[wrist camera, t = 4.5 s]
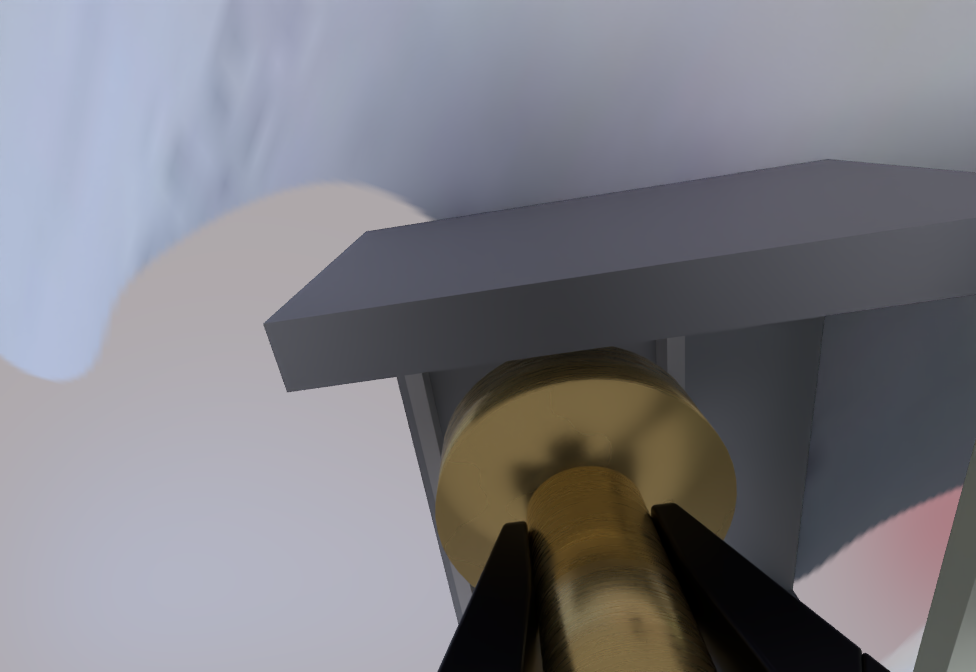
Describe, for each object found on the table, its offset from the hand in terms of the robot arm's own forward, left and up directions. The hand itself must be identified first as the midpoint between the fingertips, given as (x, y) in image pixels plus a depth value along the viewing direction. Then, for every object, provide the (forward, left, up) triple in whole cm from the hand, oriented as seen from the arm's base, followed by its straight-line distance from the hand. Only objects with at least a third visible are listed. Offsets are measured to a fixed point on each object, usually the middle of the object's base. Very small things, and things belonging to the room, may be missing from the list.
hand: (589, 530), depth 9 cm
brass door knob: (0, 0, -2) cm, 2 cm away
